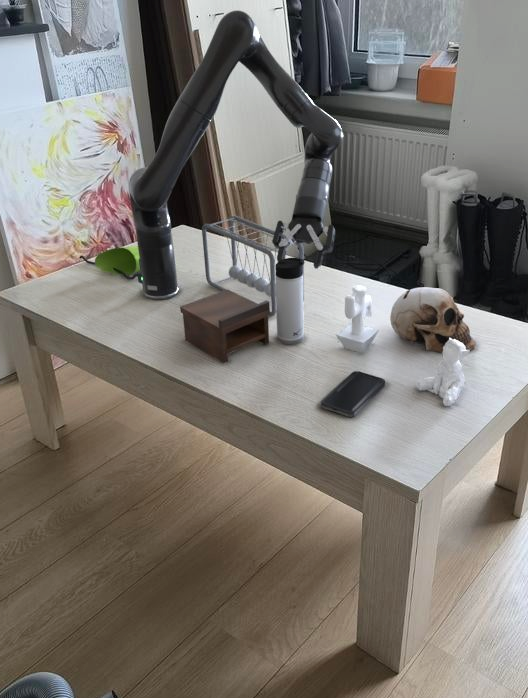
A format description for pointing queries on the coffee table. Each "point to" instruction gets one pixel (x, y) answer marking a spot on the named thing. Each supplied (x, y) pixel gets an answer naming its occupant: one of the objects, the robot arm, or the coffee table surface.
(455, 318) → the coin bank
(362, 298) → the figurine
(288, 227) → the robot arm
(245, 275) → the newton's cradle
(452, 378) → the white creature statuette
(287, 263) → the travel mug
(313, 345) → the coffee table surface
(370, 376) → the phone
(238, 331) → the brown wooden stand
